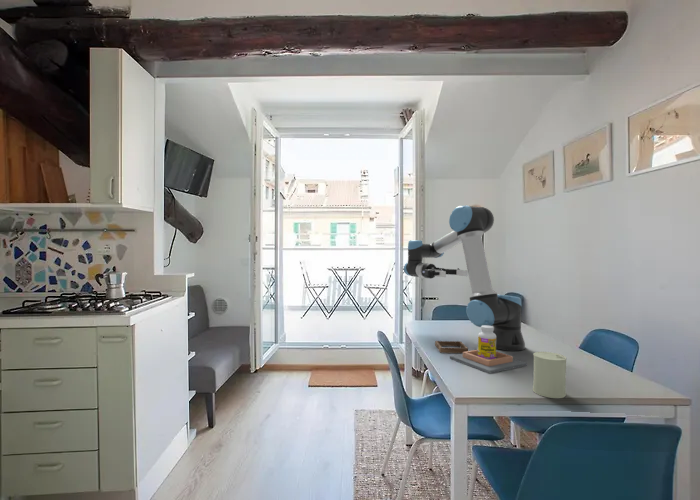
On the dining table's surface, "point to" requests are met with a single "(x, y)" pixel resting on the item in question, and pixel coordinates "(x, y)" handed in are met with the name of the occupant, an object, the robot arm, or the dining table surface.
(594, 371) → the dining table surface
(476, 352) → the collar
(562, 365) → the can
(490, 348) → the supplement bottle
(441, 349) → the collar
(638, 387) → the dining table surface
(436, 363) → the dining table surface
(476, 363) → the mat
